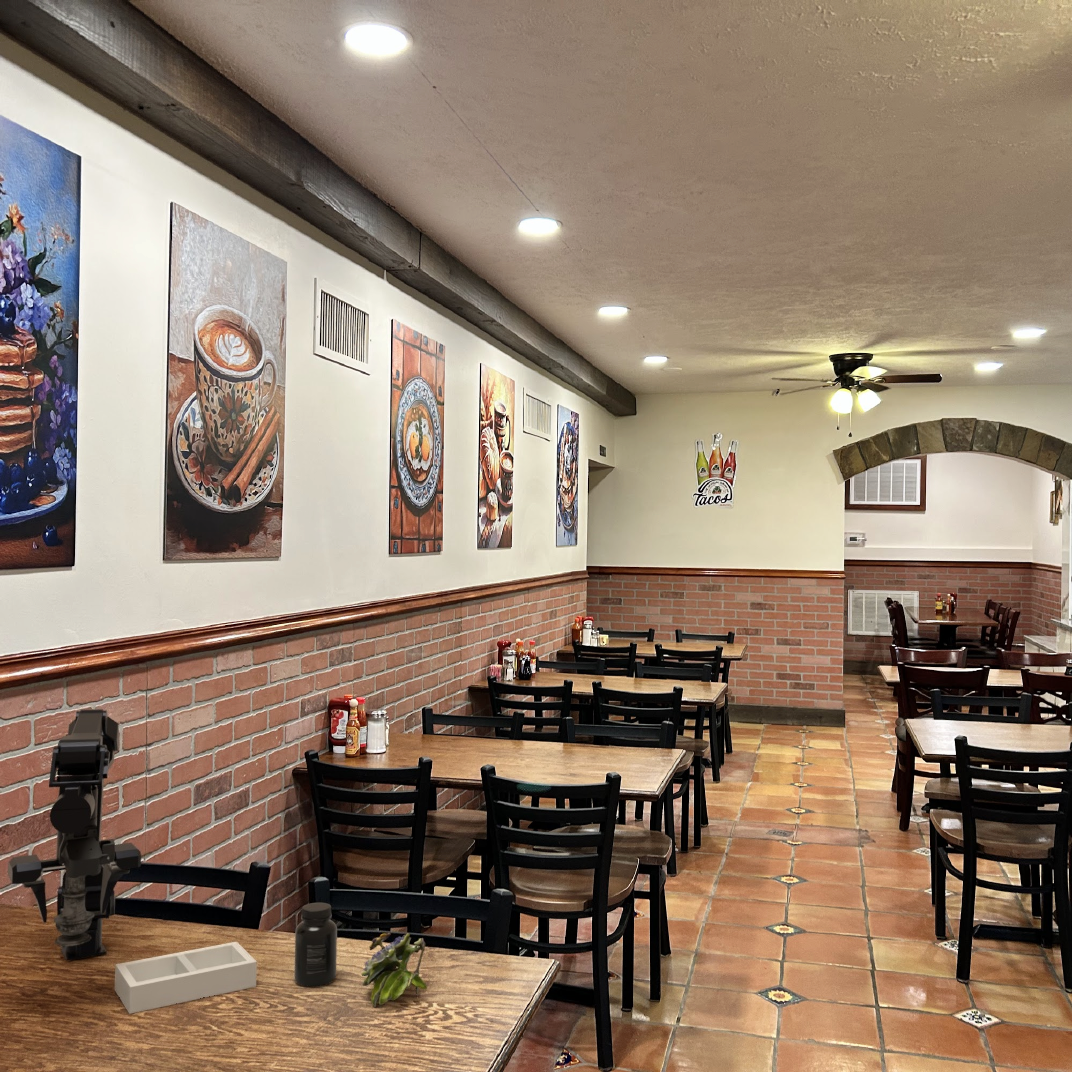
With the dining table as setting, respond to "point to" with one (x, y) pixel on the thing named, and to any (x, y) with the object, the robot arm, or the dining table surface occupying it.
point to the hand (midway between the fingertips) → (73, 917)
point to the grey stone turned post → (73, 914)
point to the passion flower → (392, 968)
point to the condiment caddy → (184, 976)
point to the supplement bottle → (315, 946)
